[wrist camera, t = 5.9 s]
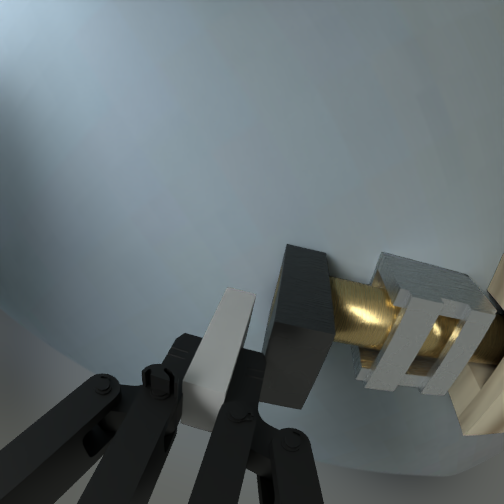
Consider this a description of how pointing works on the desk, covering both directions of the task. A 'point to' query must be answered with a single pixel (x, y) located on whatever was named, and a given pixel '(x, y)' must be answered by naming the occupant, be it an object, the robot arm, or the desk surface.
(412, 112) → the desk surface
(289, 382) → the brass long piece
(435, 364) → the sleeve
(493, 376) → the socket
